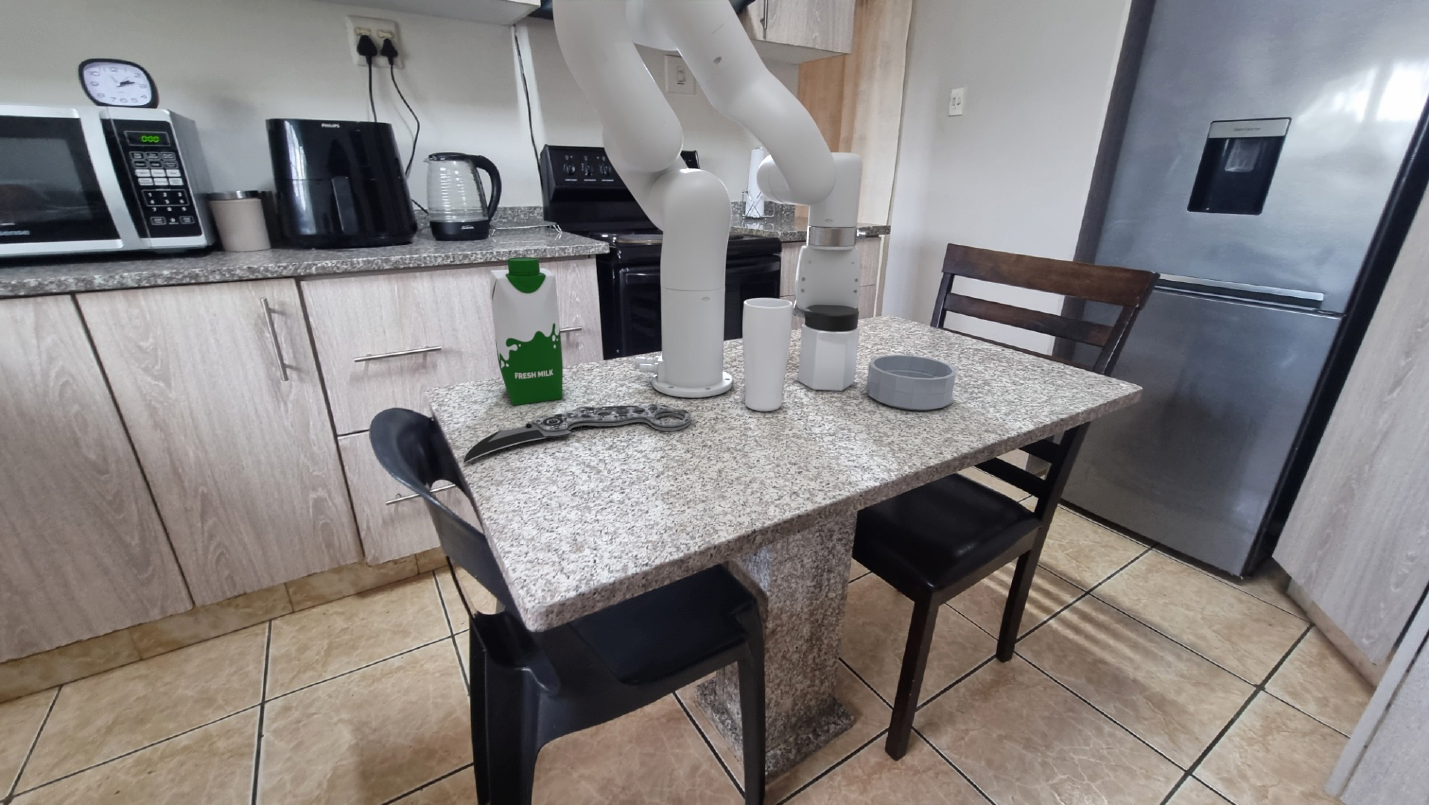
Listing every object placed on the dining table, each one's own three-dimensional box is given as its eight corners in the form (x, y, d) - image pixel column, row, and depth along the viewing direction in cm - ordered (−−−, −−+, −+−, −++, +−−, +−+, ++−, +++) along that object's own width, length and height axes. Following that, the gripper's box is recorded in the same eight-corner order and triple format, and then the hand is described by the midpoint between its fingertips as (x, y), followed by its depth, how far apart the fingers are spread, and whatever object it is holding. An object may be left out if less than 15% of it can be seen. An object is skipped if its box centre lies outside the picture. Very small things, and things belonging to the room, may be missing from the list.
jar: (815, 371, 100) (821, 301, 95) (860, 380, 95) (868, 308, 91) (789, 384, 93) (794, 310, 88) (836, 395, 88) (844, 317, 84)
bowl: (874, 410, 83) (879, 377, 81) (860, 383, 94) (863, 353, 92) (962, 414, 82) (968, 380, 80) (936, 386, 93) (941, 356, 92)
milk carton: (506, 409, 81) (490, 262, 74) (499, 388, 88) (483, 254, 81) (570, 400, 84) (559, 259, 77) (557, 381, 92) (547, 252, 85)
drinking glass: (773, 418, 79) (779, 309, 74) (730, 408, 83) (734, 303, 77) (794, 403, 85) (801, 301, 79) (753, 394, 88) (757, 295, 83)
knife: (462, 458, 63) (458, 420, 72) (464, 470, 64) (459, 432, 72) (701, 423, 75) (673, 394, 83) (700, 434, 75) (673, 404, 83)
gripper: (874, 236, 94) (862, 346, 101) (782, 235, 95) (776, 344, 101) (884, 241, 87) (871, 358, 94) (784, 239, 88) (778, 356, 94)
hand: (822, 350), depth 98 cm, fingers closed
